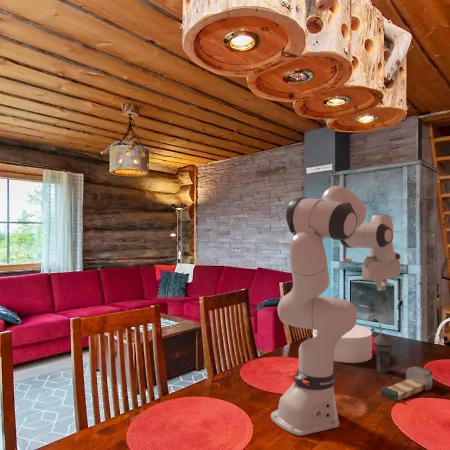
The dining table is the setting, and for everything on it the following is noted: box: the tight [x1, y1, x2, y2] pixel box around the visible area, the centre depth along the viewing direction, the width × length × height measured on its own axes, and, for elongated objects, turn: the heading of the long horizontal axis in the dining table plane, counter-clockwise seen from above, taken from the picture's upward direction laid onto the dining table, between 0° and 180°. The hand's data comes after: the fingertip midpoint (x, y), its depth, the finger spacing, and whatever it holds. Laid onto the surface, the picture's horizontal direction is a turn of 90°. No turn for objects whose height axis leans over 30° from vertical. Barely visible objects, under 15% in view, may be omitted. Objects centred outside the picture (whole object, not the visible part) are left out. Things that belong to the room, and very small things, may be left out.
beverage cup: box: [373, 323, 393, 373], centre depth 158 cm, size 7×7×20 cm
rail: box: [380, 365, 433, 402], centre depth 138 cm, size 24×6×6 cm, turn 123°
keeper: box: [405, 366, 433, 391], centre depth 142 cm, size 4×8×6 cm, turn 33°
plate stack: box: [312, 324, 373, 364], centre depth 181 cm, size 28×28×12 cm
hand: (381, 290), depth 144 cm, fingers closed
